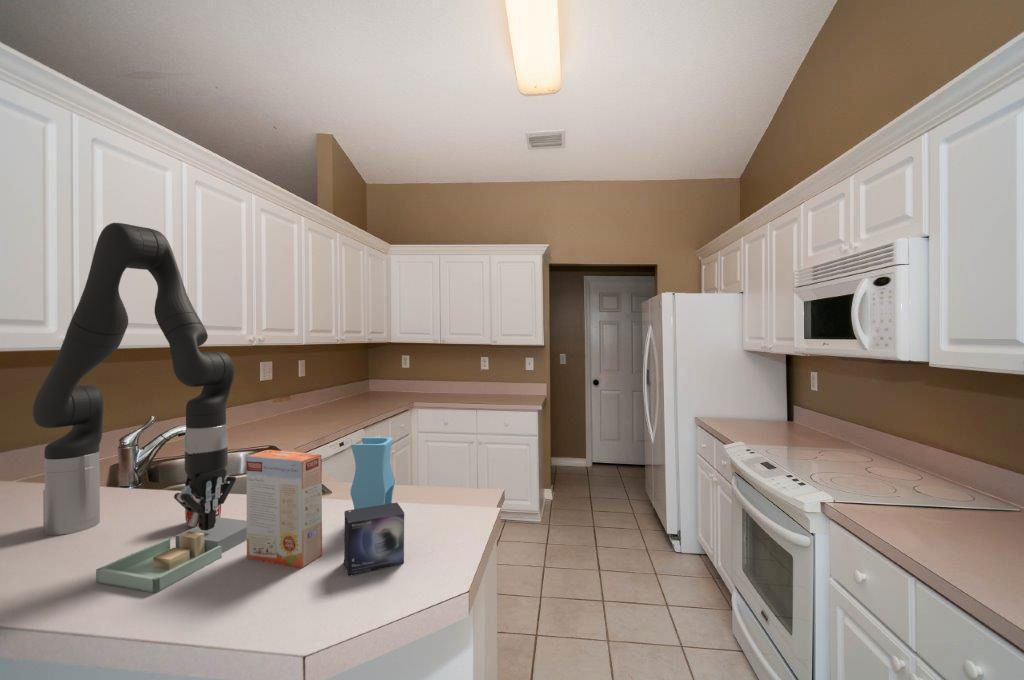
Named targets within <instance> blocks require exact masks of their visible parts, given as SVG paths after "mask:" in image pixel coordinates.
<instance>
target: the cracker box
mask: <svg viewBox="0 0 1024 680" xmlns="http://www.w3.org/2000/svg"><path fill="white" fill-rule="evenodd" d="M322 457H323V456H322V453H309V452H298V451H289V450H288V451H287V450H278V449H277V450H275V449H266V450H262V451H259V452H254V453H252V454H249V455H246V521H247V540H246V559H249V558H250V560H254V559H256V561H259V560H261V561H262V562H265V561H267V562H266V563H270V562H273V563H272V564H276V563H278V564H277V565H281V564H283V565H282V566H286V565H287V567H292V566H293V567H292V568H297V567H298V568H297V569H304V568H305V567H306V566H308V565H309V563H310V564H312V562H315V561H316V560H317V559H319V558H320V556H321V557H322V556H323V490H322V489H323V487H322V484H323V483H322V481H323V479H322V478H323V477H322V474H323V473H322V471H323V469H322V465H323V464H322V462H323V461H322V460H323V459H322ZM261 561H260V562H261ZM304 566H305V567H304Z"/></svg>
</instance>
